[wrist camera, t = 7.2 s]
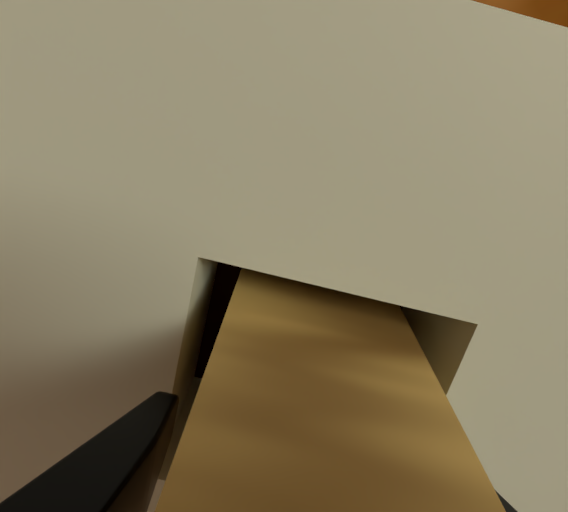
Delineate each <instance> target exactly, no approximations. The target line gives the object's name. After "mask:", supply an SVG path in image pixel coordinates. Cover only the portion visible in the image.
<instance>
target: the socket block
mask: <svg viewBox="0 0 568 512" xmlns="http://www.w3.org/2000/svg"><path fill="white" fill-rule="evenodd" d="M218 262H221V263H225V264H230V265H234V266H238V267H242V268H246V269H250V270H254V271H259V272H263V273H267V274H271V275H275V276H279V277H284V278H288V279H292V280H296V281H300V282H304V283H308V284H313V285H317V286H321V287H325V288H329V289H333V290H338V291H342V292H346V293H350V294H354V295H358V296H362V297H367V298H371V299H375V300H379V301H383V302H387V303H392V304H396V305H400V306H403V308H402V312H403V314H404V316H405V318H406V319H407V321H408V323H409V325H410V327H411V329H412V331H413V333H414V335H415V337H416V339H417V341H418V343H419V345H420V347H421V348H422V350H423V352H424V354H425V356H426V358H427V360H428V362H429V364H430V366H431V368H432V370H433V372H434V374H435V375H436V377H437V379H438V381H439V383H440V385H441V387H442V389H443V391H444V393H445V395H446V397H447V399H448V401H449V403H450V404H451V406H452V408H453V410H454V412H455V414H456V416H457V418H458V420H459V422H460V424H461V426H462V428H463V430H464V431H465V433H466V435H467V437H468V439H469V441H470V443H471V445H472V447H473V449H474V451H475V453H476V455H477V457H478V458H479V460H480V462H481V464H482V466H483V468H484V470H485V472H486V474H487V476H488V478H489V480H490V482H491V484H492V486H493V487H494V489H495V490H496V491H497V492H498V493H499V494H500V495H501V496H502V497H503V498H504V499H505V500H506V501H507V502H508V503H509V504H510V505H511V506H512V507H513V508H514V509H515V510H516V511H518V512H568V28H567V27H563V26H560V25H556V24H553V23H549V22H546V21H542V20H539V19H535V18H532V17H528V16H524V15H521V14H517V13H514V12H510V11H507V10H503V9H500V8H496V7H493V6H489V5H486V4H482V3H479V2H475V1H472V0H0V503H1V502H2V501H3V500H5V499H6V498H8V497H9V496H10V495H12V494H13V493H15V492H16V491H17V490H19V489H20V488H22V487H23V486H25V485H26V484H27V483H29V482H30V481H32V480H33V479H34V478H36V477H37V476H39V475H40V474H41V473H43V472H44V471H46V470H47V469H48V468H50V467H51V466H53V465H54V464H56V463H57V462H58V461H60V460H61V459H63V458H64V457H65V456H67V455H68V454H70V453H71V452H72V451H74V450H75V449H77V448H78V447H79V446H81V445H82V444H84V443H85V442H87V441H88V440H89V439H91V438H92V437H94V436H95V435H96V434H98V433H99V432H101V431H102V430H103V429H105V428H106V427H108V426H109V425H110V424H112V423H113V422H115V421H116V420H118V419H119V418H120V417H122V416H123V415H125V414H126V413H127V412H129V411H130V410H132V409H133V408H134V407H136V406H137V405H139V404H140V403H141V402H143V401H144V400H146V399H147V398H149V397H150V396H151V395H153V394H154V393H156V392H158V391H163V392H167V393H172V394H176V395H178V397H179V403H178V408H177V413H176V418H175V423H174V428H173V433H172V437H171V440H170V443H169V446H168V449H167V452H166V455H165V458H164V461H163V464H162V468H161V471H160V474H159V477H158V480H157V483H156V486H155V489H154V492H153V495H152V498H151V501H150V504H149V507H148V510H147V512H154V511H155V509H156V506H157V503H158V500H159V498H160V495H161V492H162V489H163V486H164V484H165V481H166V478H167V475H168V472H169V470H170V467H171V464H172V461H173V458H174V456H175V453H176V450H177V447H178V445H179V442H180V439H181V436H182V433H183V431H184V428H185V425H186V422H187V419H188V417H189V414H190V411H191V408H192V406H193V403H194V400H195V397H196V394H197V392H198V389H199V386H200V383H201V380H202V378H199V377H194V376H195V371H196V366H197V361H198V357H199V352H200V347H201V342H202V338H203V333H204V328H205V323H206V319H207V314H208V309H209V304H210V300H211V295H212V290H213V285H214V281H215V276H216V271H217V266H218Z"/></svg>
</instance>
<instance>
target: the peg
mask: <svg viewBox="0 0 568 512" xmlns="http://www.w3.org/2000/svg"><path fill="white" fill-rule="evenodd" d="M154 512H506V511H505V509H504V507H503V505H502V503H501V501H500V499H499V497H498V495H497V493H496V491H495V489H494V487H493V486H492V484H491V482H490V480H489V478H488V476H487V474H486V472H485V470H484V468H483V466H482V464H481V462H480V460H479V458H478V457H477V455H476V453H475V451H474V449H473V447H472V445H471V443H470V441H469V439H468V437H467V435H466V433H465V431H464V430H463V428H462V426H461V424H460V422H459V420H458V418H457V416H456V414H455V412H454V410H453V408H452V406H451V404H450V403H449V401H448V399H447V397H446V395H445V393H444V391H443V389H442V387H441V385H440V383H439V381H438V379H437V377H436V375H435V374H434V372H433V370H432V368H431V366H430V364H429V362H428V360H427V358H426V356H425V354H424V352H423V350H422V348H421V347H420V345H419V343H418V341H417V339H416V337H415V335H414V333H413V331H412V329H411V327H410V325H409V323H408V321H407V319H406V318H405V316H404V314H403V312H402V310H401V308H400V306H399V305H396V304H392V303H387V302H383V301H379V300H375V299H371V298H367V297H362V296H358V295H354V294H350V293H346V292H342V291H338V290H333V289H329V288H325V287H321V286H317V285H313V284H308V283H304V282H300V281H296V280H292V279H288V278H284V277H279V276H275V275H271V274H267V273H263V272H259V271H254V270H250V269H246V268H242V269H241V272H240V275H239V277H238V280H237V283H236V286H235V288H234V291H233V294H232V297H231V300H230V302H229V305H228V308H227V311H226V314H225V316H224V319H223V322H222V325H221V327H220V330H219V333H218V336H217V339H216V341H215V344H214V347H213V350H212V353H211V355H210V358H209V361H208V364H207V366H206V369H205V372H204V375H203V378H202V380H201V383H200V386H199V389H198V392H197V394H196V397H195V400H194V403H193V406H192V408H191V411H190V414H189V417H188V419H187V422H186V425H185V428H184V431H183V433H182V436H181V439H180V442H179V445H178V447H177V450H176V453H175V456H174V458H173V461H172V464H171V467H170V470H169V472H168V475H167V478H166V481H165V484H164V486H163V489H162V492H161V495H160V498H159V500H158V503H157V506H156V509H155V511H154Z"/></svg>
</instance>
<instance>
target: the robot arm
mask: <svg viewBox="0 0 568 512" xmlns="http://www.w3.org/2000/svg"><path fill="white" fill-rule="evenodd" d="M178 403H179V397H178V395H176V394H172V393H167V392H163V391H158V392H156V393H154V394H153V395H151V396H150V397H149V398H147V399H146V400H144V401H143V402H141V403H140V404H139V405H137V406H136V407H134V408H133V409H132V410H130V411H129V412H127V413H126V414H125V415H123V416H122V417H120V418H119V419H118V420H116V421H115V422H113V423H112V424H110V425H109V426H108V427H106V428H105V429H103V430H102V431H101V432H99V433H98V434H96V435H95V436H94V437H92V438H91V439H89V440H88V441H87V442H85V443H84V444H82V445H81V446H79V447H78V448H77V449H75V450H74V451H72V452H71V453H70V454H68V455H67V456H65V457H64V458H63V459H61V460H60V461H58V462H57V463H56V464H54V465H53V466H51V467H50V468H48V469H47V470H46V471H44V472H43V473H41V474H40V475H39V476H37V477H36V478H34V479H33V480H32V481H30V482H29V483H27V484H26V485H25V486H23V487H22V488H20V489H19V490H17V491H16V492H15V493H13V494H12V495H10V496H9V497H8V498H6V499H5V500H3V501H2V502H1V503H0V512H147V510H148V507H149V504H150V501H151V498H152V495H153V492H154V489H155V486H156V483H157V480H158V477H159V474H160V471H161V468H162V464H163V461H164V458H165V455H166V452H167V449H168V446H169V443H170V440H171V437H172V433H173V428H174V423H175V418H176V413H177V408H178ZM495 491H496V490H495ZM496 493H497V495H498V497H499V499H500V501H501V503H502V505H503V507H504V509H505V511H506V512H518V511H516V510H515V509H514V508H513V507H512V506H511V505H510V504H509V503H508V502H507V501H506V500H505V499H504V498H503V497H502V496H501V495H500V494H499V493H498V492H497V491H496Z"/></svg>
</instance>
